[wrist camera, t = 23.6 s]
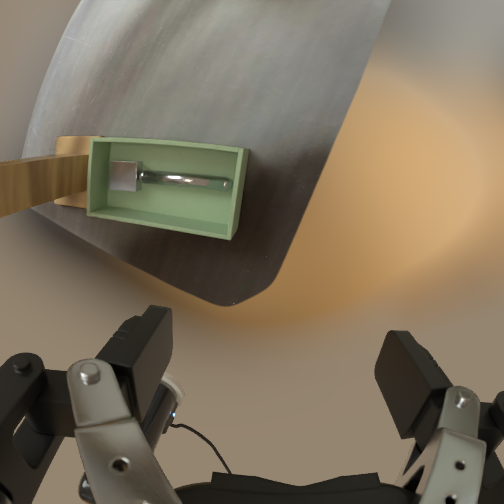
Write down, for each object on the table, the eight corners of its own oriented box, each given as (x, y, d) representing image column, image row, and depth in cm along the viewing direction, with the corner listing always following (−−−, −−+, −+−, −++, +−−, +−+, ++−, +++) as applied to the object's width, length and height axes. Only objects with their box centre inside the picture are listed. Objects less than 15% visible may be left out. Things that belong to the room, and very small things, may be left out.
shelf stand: (111, 136, 40) (-57, 148, 12) (106, 209, 44) (-45, 280, 16) (61, 136, 41) (-86, 154, 13) (58, 202, 45) (-78, 257, 17)
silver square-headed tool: (235, 168, 40) (233, 169, 38) (232, 199, 41) (229, 202, 39) (115, 160, 41) (108, 160, 39) (114, 187, 42) (107, 189, 41)
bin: (249, 149, 39) (243, 148, 34) (237, 229, 43) (230, 240, 38) (110, 137, 40) (90, 137, 35) (106, 208, 44) (86, 215, 39)
